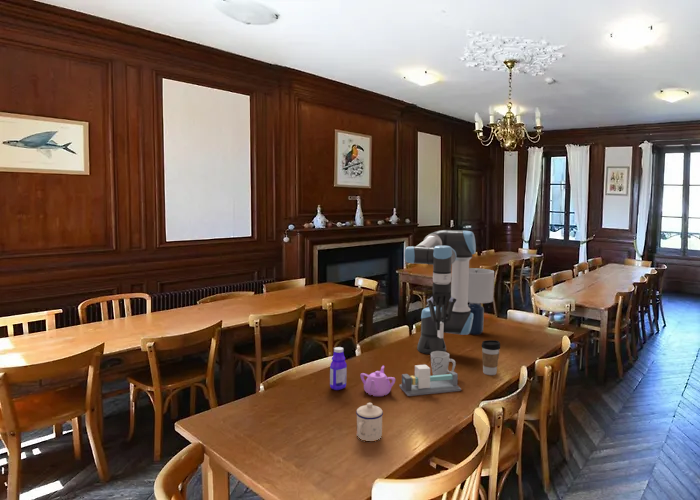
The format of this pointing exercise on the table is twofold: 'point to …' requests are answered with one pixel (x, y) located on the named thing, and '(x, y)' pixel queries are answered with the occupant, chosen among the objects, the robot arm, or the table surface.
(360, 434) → the teacup with lid
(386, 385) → the teapot
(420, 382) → the white slider block
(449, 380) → the slider rail
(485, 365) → the coffee cup
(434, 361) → the mug
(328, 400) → the table surface
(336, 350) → the bottle
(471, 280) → the lamp
